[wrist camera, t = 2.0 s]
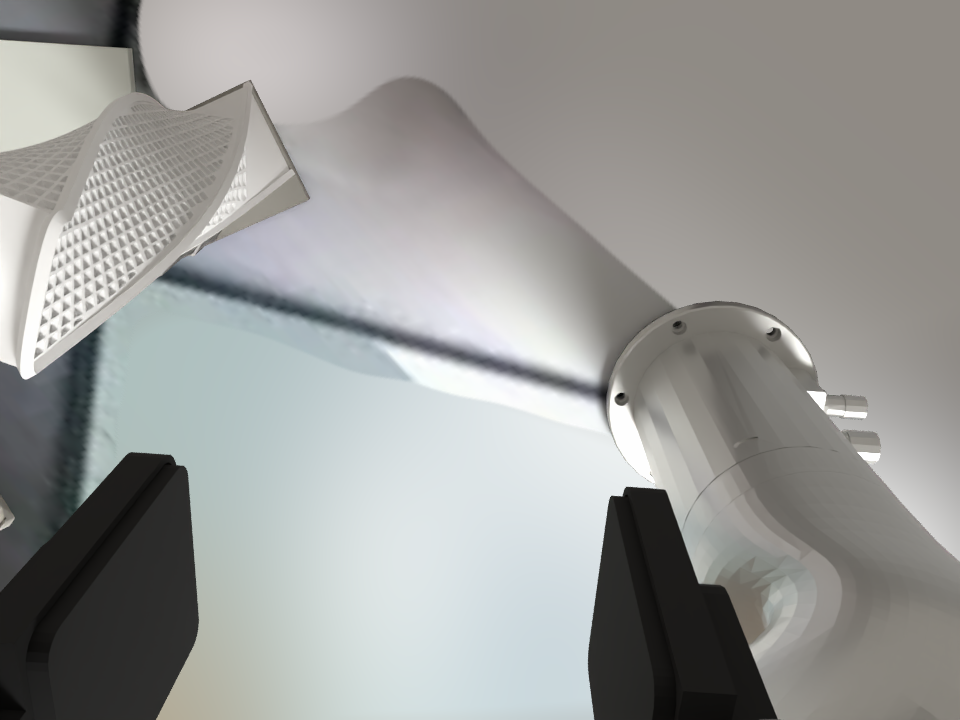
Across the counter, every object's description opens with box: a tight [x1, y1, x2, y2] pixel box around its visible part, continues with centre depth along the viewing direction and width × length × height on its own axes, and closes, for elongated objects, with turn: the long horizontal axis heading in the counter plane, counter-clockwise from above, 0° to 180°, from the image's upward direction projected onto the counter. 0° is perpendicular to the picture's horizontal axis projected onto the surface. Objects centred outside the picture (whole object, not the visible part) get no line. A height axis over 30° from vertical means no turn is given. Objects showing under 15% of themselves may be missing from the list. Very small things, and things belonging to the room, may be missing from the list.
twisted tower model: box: [0, 80, 310, 379], centre depth 34 cm, size 8×8×28 cm
